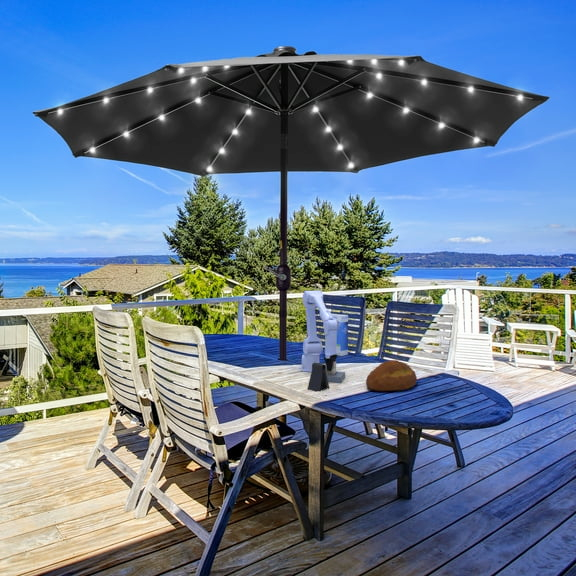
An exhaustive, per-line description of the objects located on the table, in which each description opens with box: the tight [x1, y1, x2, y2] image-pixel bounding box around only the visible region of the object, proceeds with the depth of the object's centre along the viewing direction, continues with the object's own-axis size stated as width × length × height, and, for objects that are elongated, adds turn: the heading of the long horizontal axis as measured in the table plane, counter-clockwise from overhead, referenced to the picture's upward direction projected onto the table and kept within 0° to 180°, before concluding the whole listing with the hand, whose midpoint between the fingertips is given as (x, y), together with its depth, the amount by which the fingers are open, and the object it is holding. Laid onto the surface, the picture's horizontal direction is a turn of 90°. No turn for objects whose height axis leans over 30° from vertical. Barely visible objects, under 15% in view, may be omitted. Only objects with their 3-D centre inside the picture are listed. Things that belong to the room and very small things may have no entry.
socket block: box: [327, 370, 346, 384], centre depth 237 cm, size 13×12×3 cm
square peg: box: [326, 361, 337, 375], centre depth 236 cm, size 4×4×6 cm
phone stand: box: [307, 362, 330, 392], centre depth 219 cm, size 9×6×12 cm, turn 137°
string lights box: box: [331, 313, 349, 357], centre depth 303 cm, size 13×8×26 cm, turn 49°
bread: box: [365, 359, 418, 392], centre depth 225 cm, size 21×33×12 cm, turn 128°
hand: (330, 369), depth 236 cm, fingers closed on square peg, 4 cm apart
